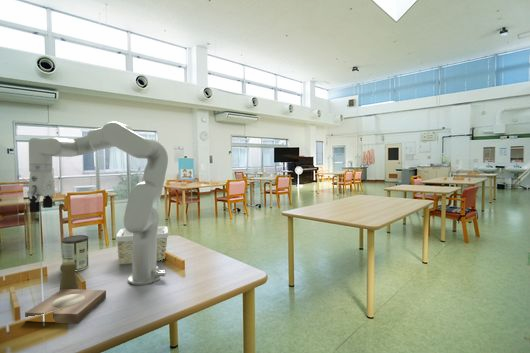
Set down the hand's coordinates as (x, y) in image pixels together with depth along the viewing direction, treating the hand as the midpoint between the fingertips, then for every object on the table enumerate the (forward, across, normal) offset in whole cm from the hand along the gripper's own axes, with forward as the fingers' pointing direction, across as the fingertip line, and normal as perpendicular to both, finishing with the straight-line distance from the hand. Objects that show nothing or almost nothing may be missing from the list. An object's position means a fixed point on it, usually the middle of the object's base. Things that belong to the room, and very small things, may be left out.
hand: (41, 209), depth 116 cm
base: (+29, -29, -21) cm, 46 cm away
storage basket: (+30, +19, -36) cm, 50 cm away
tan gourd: (+29, -14, -15) cm, 36 cm away
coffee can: (+29, +10, -8) cm, 32 cm away
